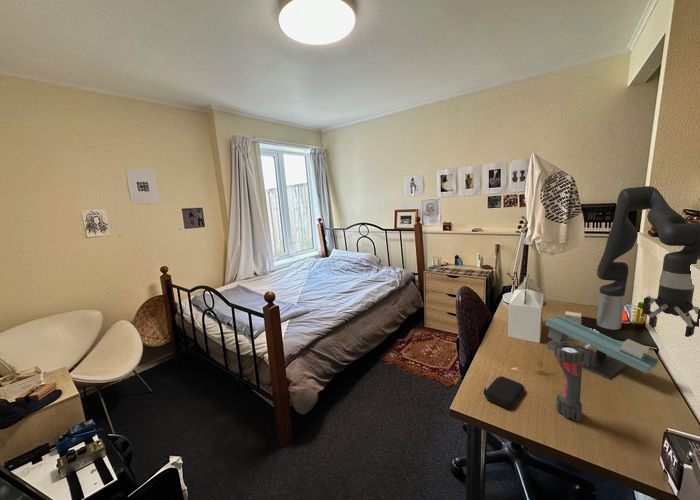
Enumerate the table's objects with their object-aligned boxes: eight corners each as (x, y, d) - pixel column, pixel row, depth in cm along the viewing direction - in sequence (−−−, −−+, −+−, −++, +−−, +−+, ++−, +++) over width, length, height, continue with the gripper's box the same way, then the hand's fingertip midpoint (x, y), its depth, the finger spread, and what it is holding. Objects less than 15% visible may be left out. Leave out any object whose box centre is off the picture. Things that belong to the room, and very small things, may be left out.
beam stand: (560, 341, 135) (561, 325, 134) (627, 366, 114) (629, 347, 113) (541, 350, 129) (542, 334, 127) (608, 379, 108) (610, 360, 106)
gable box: (513, 319, 160) (515, 271, 155) (542, 324, 152) (544, 273, 147) (507, 337, 142) (509, 283, 137) (539, 343, 135) (542, 286, 129)
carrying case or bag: (495, 378, 113) (479, 398, 104) (496, 371, 113) (479, 390, 103) (526, 390, 105) (511, 413, 96) (526, 383, 105) (511, 405, 95)
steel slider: (624, 349, 110) (628, 338, 108) (644, 359, 105) (649, 347, 103) (618, 353, 108) (622, 342, 106) (639, 363, 103) (643, 351, 101)
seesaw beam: (556, 328, 135) (560, 312, 132) (653, 375, 107) (662, 356, 104) (539, 337, 129) (543, 320, 126) (637, 389, 101) (645, 369, 98)
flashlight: (550, 399, 100) (554, 339, 96) (579, 407, 95) (584, 344, 91) (550, 414, 94) (554, 350, 89) (581, 423, 89) (587, 356, 85)
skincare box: (580, 337, 137) (582, 313, 135) (579, 341, 134) (581, 316, 132) (564, 333, 141) (565, 310, 139) (562, 337, 138) (564, 313, 136)
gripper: (715, 287, 88) (706, 336, 92) (650, 277, 101) (645, 321, 104) (706, 293, 85) (698, 343, 88) (641, 282, 98) (636, 326, 101)
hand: (669, 331), depth 96 cm, fingers open, 7 cm apart
